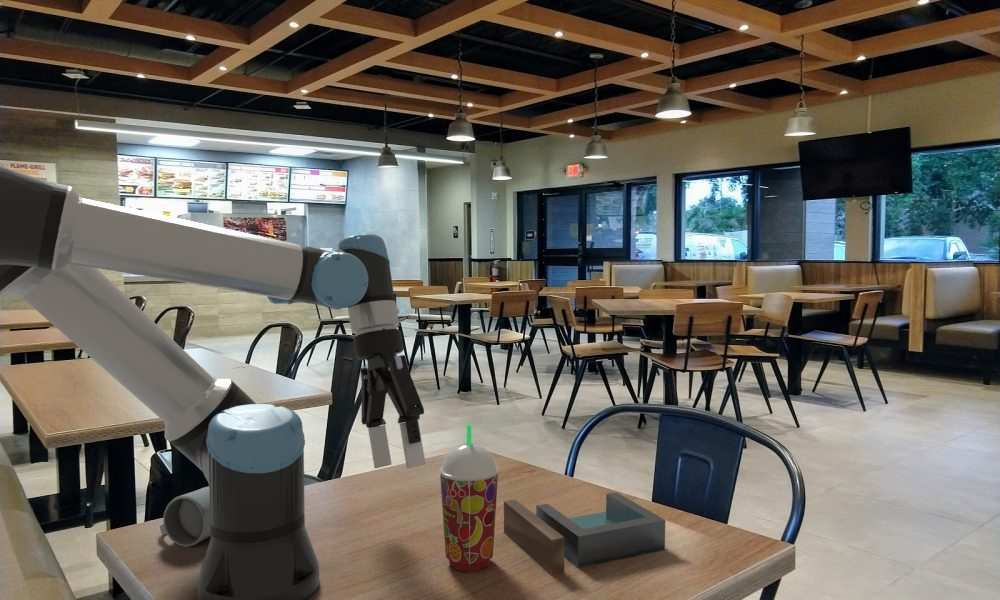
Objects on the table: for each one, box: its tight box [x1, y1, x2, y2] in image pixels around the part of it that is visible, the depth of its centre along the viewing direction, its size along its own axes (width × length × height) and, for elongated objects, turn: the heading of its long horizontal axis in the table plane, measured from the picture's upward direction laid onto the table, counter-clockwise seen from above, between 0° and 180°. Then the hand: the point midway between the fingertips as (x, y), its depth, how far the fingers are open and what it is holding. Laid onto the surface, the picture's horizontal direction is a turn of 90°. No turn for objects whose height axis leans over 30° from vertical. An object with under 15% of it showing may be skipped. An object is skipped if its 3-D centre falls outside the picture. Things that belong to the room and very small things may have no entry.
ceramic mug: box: [159, 485, 211, 548], centre depth 106 cm, size 11×8×8 cm
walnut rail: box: [503, 499, 565, 576], centre depth 100 cm, size 2×16×5 cm, turn 24°
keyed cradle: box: [535, 491, 666, 568], centre depth 105 cm, size 15×15×4 cm
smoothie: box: [438, 424, 500, 573], centre depth 96 cm, size 8×8×20 cm
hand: (398, 466), depth 104 cm, fingers open, 13 cm apart
